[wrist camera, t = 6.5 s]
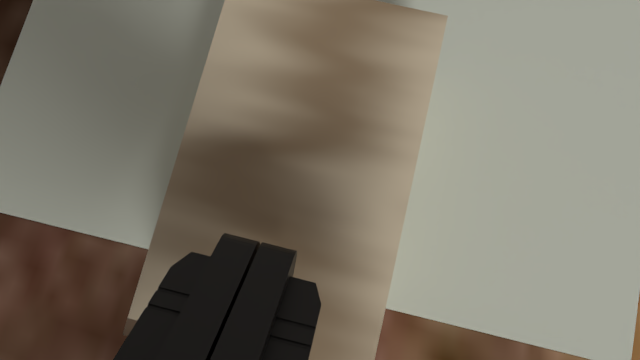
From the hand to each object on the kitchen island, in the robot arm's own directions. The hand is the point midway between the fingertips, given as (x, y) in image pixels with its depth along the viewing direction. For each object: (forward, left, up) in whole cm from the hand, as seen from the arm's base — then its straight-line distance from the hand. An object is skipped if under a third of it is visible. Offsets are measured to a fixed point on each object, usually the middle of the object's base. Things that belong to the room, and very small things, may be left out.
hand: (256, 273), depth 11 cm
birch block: (0, -2, -4) cm, 5 cm away
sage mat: (0, +6, -7) cm, 9 cm away
